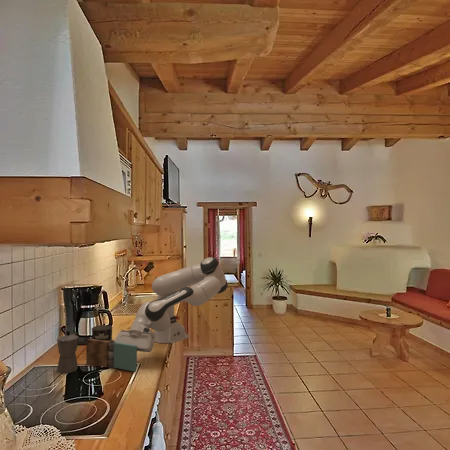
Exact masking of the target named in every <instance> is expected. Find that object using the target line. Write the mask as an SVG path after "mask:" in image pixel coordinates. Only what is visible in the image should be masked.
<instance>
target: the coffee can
mask: <svg viewBox="0 0 450 450" xmlns="http://www.w3.org/2000/svg"><path fill="white" fill-rule="evenodd" d="M91 339H95V340H103V341H110V340H113V326H112V325H109V324H108V325H107V324H103V325H101V324H100V325H96V326H93V327H91Z"/></svg>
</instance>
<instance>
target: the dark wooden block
mask: <svg viewBox="0 0 450 450" xmlns="http://www.w3.org/2000/svg"><path fill="white" fill-rule="evenodd" d="M114 340H115V339H112V340H110V341H103V340H95V339H92V338H87V339H86V355H85V357H86V359H85V363H86V365H87V366H95V365H98V366H97V367H102V366H103V368H108V369H114V359H112V360H110V359H108V351H114V343H115V341H114Z"/></svg>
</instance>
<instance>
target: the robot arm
mask: <svg viewBox="0 0 450 450" xmlns="http://www.w3.org/2000/svg"><path fill="white" fill-rule="evenodd" d="M228 287H229V286H228V280H227V279H226V276H225V272H224V270H223V269H222V267H221V265H220V263H219V261H218V259H217V258H216V257H215V256H209V257H205V258H204V259H203V260H201V262H200V263H196V264H193V265H189V266H187V267H183V268H180V269H177V270H175V271H171V272H169V273H165V274H162V275H159V276H157V277H155V279H154V280H153V281H152V283H151V289H152V291H153V293H154V294H156V295H157V299H155V300H152V301H145V302H143V303H142V304H141V305H140V307H139V308H138V311H137V312H136V314H135V318H134V321H132V324H131V326H130V328H129V329H128V330H125V329H122V330H120V331H119V332H118V333H117V335H116V336H115V338H114V339H113V340H114V341H115V342H118V343H124V344H131V345H137V352H144V353H151V352H152V351H153V349H154V346H155V343H158V344H175V343H177V342H181V341H184V340H187V339H190V335H189V334H188V333H186V328H185V326H184V325H182V324H181V323H180V322H178V321H177V320H180V316H178V315H175V306H177V305H179V304H181V303H182V302H183V303H184V302H186V303H188V304H190V305H192V306H194V307H199V306H201V305H203V304H205V303H207V302H208V301H210V300H211V299H212V298H214V297H215V296H216V295H217V294H218V295H219V294H223V292H225V291H226V290H227V288H228ZM153 330H154V331H153Z"/></svg>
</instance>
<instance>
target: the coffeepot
mask: <svg viewBox="0 0 450 450" xmlns="http://www.w3.org/2000/svg"><path fill="white" fill-rule="evenodd" d="M79 340H80V334H79V332H77V331H76V332H73V333H72V334H71V331H68V330H67V331H66V335H61V336H59V337H58V338H57V346H58V347H57V348H58V354H59V358H58V362H57V369H56V372H57V373H58V374H63V375H64V374H70V373H75V372H76V371H77V370H78V367H79V366H78V359H77V354H76V352H77V349H78V344H79Z"/></svg>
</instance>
